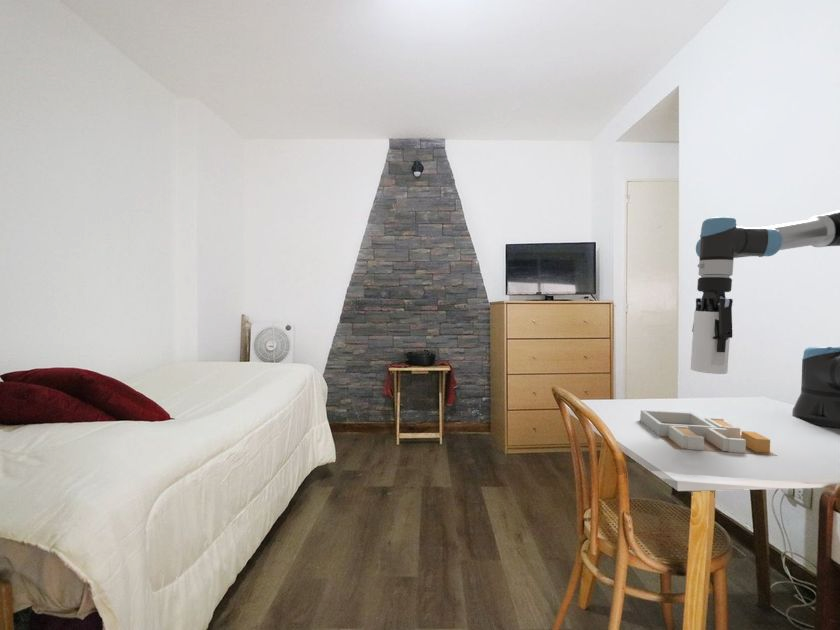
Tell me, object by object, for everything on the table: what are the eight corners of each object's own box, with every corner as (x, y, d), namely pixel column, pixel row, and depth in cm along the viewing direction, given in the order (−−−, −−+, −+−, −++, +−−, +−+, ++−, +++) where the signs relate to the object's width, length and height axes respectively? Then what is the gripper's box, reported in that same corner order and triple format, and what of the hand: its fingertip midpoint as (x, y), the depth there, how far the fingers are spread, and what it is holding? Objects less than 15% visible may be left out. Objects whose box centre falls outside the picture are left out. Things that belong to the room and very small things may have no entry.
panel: (722, 428, 124) (722, 424, 124) (777, 460, 100) (777, 455, 100) (640, 424, 127) (640, 420, 127) (674, 453, 104) (674, 448, 104)
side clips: (721, 429, 120) (721, 418, 120) (764, 454, 101) (764, 441, 101) (653, 425, 123) (653, 414, 122) (683, 448, 104) (683, 436, 104)
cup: (733, 374, 112) (738, 312, 111) (698, 372, 113) (702, 311, 112) (718, 369, 120) (722, 311, 119) (685, 367, 121) (689, 310, 120)
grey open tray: (724, 440, 111) (725, 428, 111) (745, 452, 102) (745, 440, 102) (705, 438, 111) (706, 427, 111) (724, 451, 103) (724, 438, 102)
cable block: (754, 443, 108) (754, 431, 108) (769, 452, 102) (770, 439, 102) (741, 442, 109) (741, 431, 109) (755, 451, 103) (756, 439, 103)
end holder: (691, 423, 125) (692, 412, 125) (717, 439, 111) (717, 427, 111) (640, 420, 127) (640, 409, 127) (658, 435, 114) (659, 424, 113)
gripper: (681, 278, 126) (676, 355, 127) (720, 274, 105) (714, 367, 107) (709, 278, 125) (704, 357, 126) (754, 275, 104) (747, 369, 106)
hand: (709, 361), depth 116 cm, fingers closed on cup, 8 cm apart
